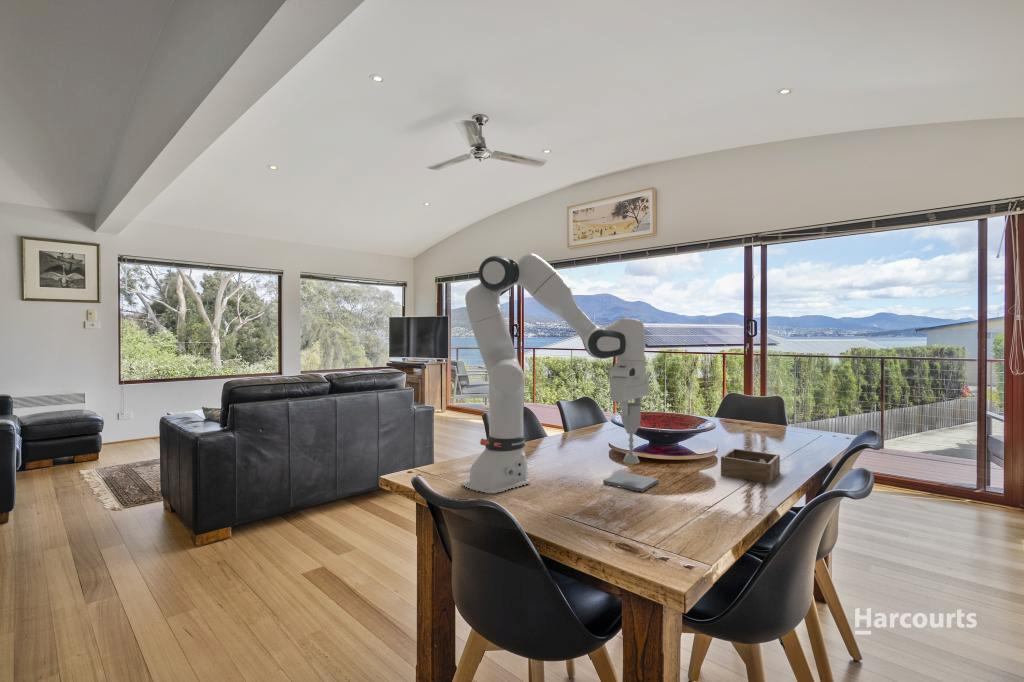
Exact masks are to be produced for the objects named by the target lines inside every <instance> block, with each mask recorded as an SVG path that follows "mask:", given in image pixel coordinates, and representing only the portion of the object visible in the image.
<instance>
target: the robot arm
mask: <svg viewBox="0 0 1024 682" xmlns="http://www.w3.org/2000/svg"><path fill="white" fill-rule="evenodd" d="M478 278H479V280H480V283H479V284H478V285H476V286H473V287H471V288H470V289H468V290H467V292H466V293H465V297H464V299H465V307H466V312H467V315H468V316H467V317H468V320H469V323H470V326H471V329H472V331H473V335H474V338H475V341H476V344H477V347H478V351H479V352H480V355H481V358H482V360H483V364H484V366H485V371H486V372H487V375H488V392H489V393H488V397H489V398H488V399H489V400H488V401H489V402H488V411H489V412H488V414H489V416H488V417H489V418H488V419H489V421H488V423H489V425H488V426H489V429H488V432H489V433H488V434H489V435H487V439H485V438H481V439H480V441H479V444H480V445H481V446H484V450H483V452H481V453H480V455H479V456H478V457H477V458H476V460H475V461H473V463H472V464H471V466H470V472H469V478H467V479H465V480H463V481H462V484H463V485H462V486H463V487H464V486H465V487H464V488H466V487H467V488H466V489H468V488H470V489H469V490H471V489H473V490H472V491H474V490H477V491H476V492H478V491H481V492H480V493H482V492H485V494H498V492H499V493H501V492H505V490H506V491H509V490H508V489H510V490H512V489H511V488H513V489H516V488H515V487H517V488H520V487H519V486H521V487H523V486H522V485H524V486H527V485H526V484H528V485H531V479H530V477H529V472H528V461H527V456H526V453H525V450H524V449H525V448H524V447H525V446H526V445H525V443H526V439H525V434H524V404H525V403H524V402H525V372H524V370H523V368H522V367H521V365H520V362H519V359H518V356H517V352H516V350H515V346H514V343H513V339H512V336H511V333H510V330H509V326H508V324H507V321H506V318H505V315H504V311H503V310H502V307H501V301H500V297H501V296H502V295H504V294H506V292H508V291H510V290H511V289H512V288H513V287H514V286H517V285H518V286H521V288H523V289H524V290H525V291H526V292H528V294H529V295H531V297H533V299H534V300H535V301H536V302H537V303H539V304H540V305H541V306H543V307H544V308H545V309H547V311H550V312H552V313H553V314H555V315H556V316H558V317H559V318H560V319H562V320H563V321H565V322H566V323H567V324H568V326H570V328H571V329H572V330H573V331H574V332H575V333H576V334H577V335H578V337H580V339H581V341H582V345H583V346H584V350H585V351H586V352H587V354H588V355H589V356H591V357H592V358H594V359H600V360H606V359H609V358H613V357H615V358H616V363H615V364H614V365H613V366H612V367H611V368H609V370H608V374H609V376H610V377H611V378H610V379H609V380H610V381H609V392H610V393H609V394H610V395H609V396H610V400H611V401H612V402H615V403H619V406H620V409H621V416H622V415H629V409H628V407H627V404H628V403H629V401H632V400H634V402H633V403H639V404H642V402H643V398H644V397H647V396H649V395H650V382H649V381H650V378H649V374H648V373H647V370H646V365H647V364H646V356H645V349H646V332H645V331H646V330H645V329H646V328H645V325H644V323H643V321H641V320H640V319H639V318H634V317H627V316H621V317H618V318H617V320H615V321H613V322H611V323H610V324H609V323H608V324H607V325H604V326H602V327H600V326H598V325H596V324H595V323H594V322H593V320H591V319H590V318H589V317H588V316H587V314H586V313H585V312H583V310H582V309H581V308H580V307H579V306H578V304H577V303H576V301H575V299H574V296H573V292H572V290H571V288H570V286H569V284H568V282H567V281H566V280H565V279H564V277H563V276H562V275H561V274H560V273H559V271H558V270H556V269H555V268H554V267H553V266H552V265H551V264H550V263H548V262H547V261H546V260H545V259H543V258H542V257H540V255H538V254H536V253H532V252H531V253H526V254H524V255H522V257H520V258H519V259H518V260H515V259H511V258H508V257H504V256H501V255H500V256H499V255H492V256H489V257H487V258H485V259H483V261H482V262H481V264H480V266H479V268H478Z"/></svg>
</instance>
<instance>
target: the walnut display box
mask: <svg viewBox="0 0 1024 682" xmlns="http://www.w3.org/2000/svg"><path fill="white" fill-rule="evenodd" d="M752 457H753V458H757V460H758V461H759V460H760V459H763V460H765V461H766V463H761V462H755V461H749V459H750V458H752ZM745 458H746V459H747V460H745ZM780 459H781V457H780V454H774V453H768V452H761V451H755V450H748V449H741V448H740V449H739V448H732V449H730V450H729V451H727V452H726V453H724V454H722V456H721V457H720V475H721V476H724V475H725V477H731V478H736V477H737V479H741V478H742V480H747V479H748V480H747V481H752V480H753V481H752V482H758V483H759V482H760V483H765V484H771V483H772V482H773V481H774V480H775V479H776V477H777V476H779V474H780V468H781V465H780V464H781V463H780V462H781V461H780Z"/></svg>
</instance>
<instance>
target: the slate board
mask: <svg viewBox="0 0 1024 682" xmlns="http://www.w3.org/2000/svg"><path fill="white" fill-rule="evenodd" d="M602 483H604V484H603V485H606V484H609V485H608V486H611V485H614V486H613V487H615V486H620V487H624V488H628V489H633V490H637V491H642V492H641V493H644V492H645V491H644V490H646V489H647V490H649V489H650V488H649V487H651V486H652V487H654V486H655V484H656V485H657V484H659V483H660V482H659V478H655V477H650V476H647V475H642V474H636V473H632V472H631V473H630V472H626V471H621V470H620V471H619V472H617V473H615V474H613V475H610V476H608V477H607V478H604V479H603V480H602ZM653 485H654V486H653ZM652 487H651V488H652ZM624 488H623V489H624ZM648 488H649V489H648ZM628 489H627V490H628ZM633 490H632V491H633ZM647 490H646V491H647ZM637 491H636V492H637ZM643 491H644V492H643Z"/></svg>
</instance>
